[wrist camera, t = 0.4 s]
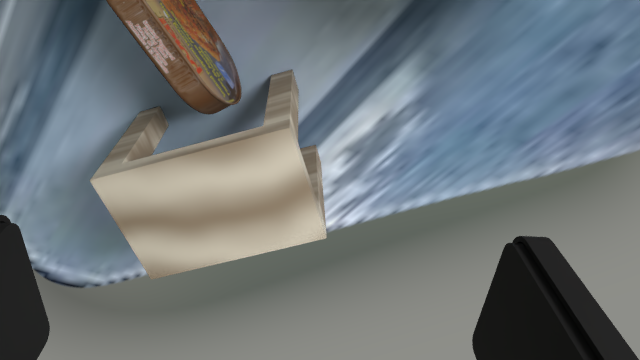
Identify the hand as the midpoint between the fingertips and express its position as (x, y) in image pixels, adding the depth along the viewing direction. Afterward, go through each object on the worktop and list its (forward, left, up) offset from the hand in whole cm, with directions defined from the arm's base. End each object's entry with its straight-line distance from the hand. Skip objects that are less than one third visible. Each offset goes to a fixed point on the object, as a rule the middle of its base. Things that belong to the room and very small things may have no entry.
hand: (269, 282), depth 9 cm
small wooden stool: (+12, -10, -35) cm, 38 cm away
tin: (0, -10, -35) cm, 37 cm away
